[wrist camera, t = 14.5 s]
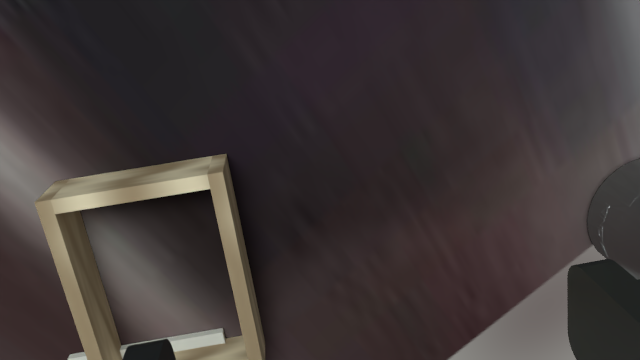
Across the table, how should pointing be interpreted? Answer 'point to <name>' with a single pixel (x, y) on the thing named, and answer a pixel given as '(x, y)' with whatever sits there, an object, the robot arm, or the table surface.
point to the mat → (177, 342)
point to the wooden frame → (133, 185)
